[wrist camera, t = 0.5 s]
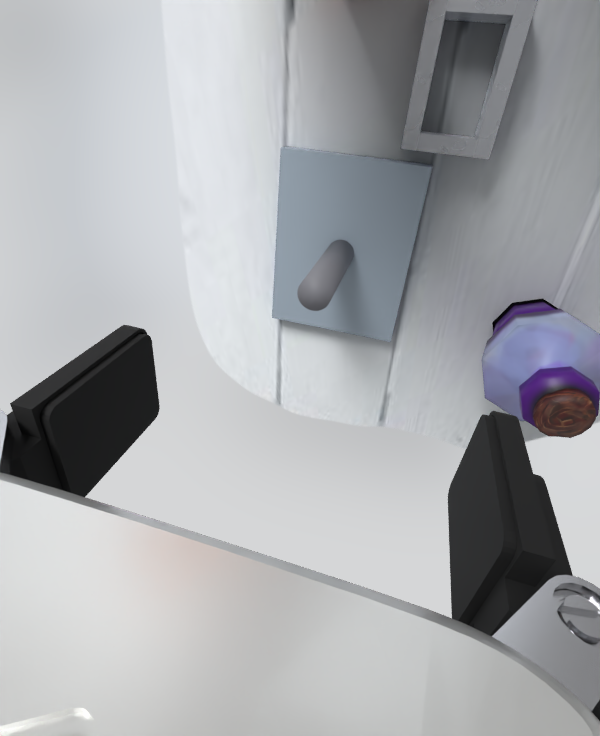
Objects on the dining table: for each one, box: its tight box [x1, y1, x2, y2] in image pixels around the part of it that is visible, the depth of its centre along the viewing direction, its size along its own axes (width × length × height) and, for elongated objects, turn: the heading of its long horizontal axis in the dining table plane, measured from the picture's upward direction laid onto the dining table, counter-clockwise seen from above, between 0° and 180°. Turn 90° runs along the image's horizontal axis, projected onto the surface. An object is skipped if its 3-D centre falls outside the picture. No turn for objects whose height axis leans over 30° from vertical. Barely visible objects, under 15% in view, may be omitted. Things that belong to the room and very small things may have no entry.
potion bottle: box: [482, 299, 600, 438], centre depth 29 cm, size 9×9×12 cm
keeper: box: [272, 146, 432, 342], centre depth 30 cm, size 14×11×10 cm
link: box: [401, 0, 538, 160], centre depth 26 cm, size 8×6×3 cm
